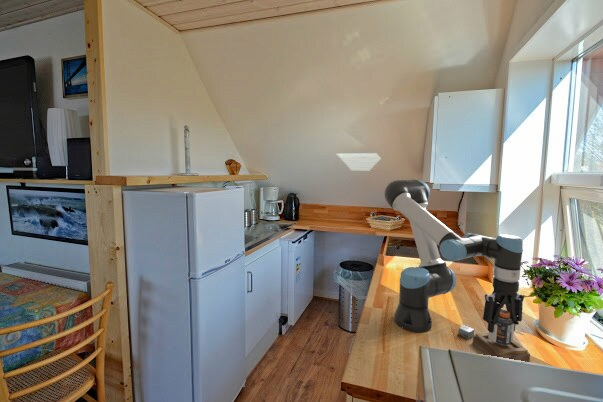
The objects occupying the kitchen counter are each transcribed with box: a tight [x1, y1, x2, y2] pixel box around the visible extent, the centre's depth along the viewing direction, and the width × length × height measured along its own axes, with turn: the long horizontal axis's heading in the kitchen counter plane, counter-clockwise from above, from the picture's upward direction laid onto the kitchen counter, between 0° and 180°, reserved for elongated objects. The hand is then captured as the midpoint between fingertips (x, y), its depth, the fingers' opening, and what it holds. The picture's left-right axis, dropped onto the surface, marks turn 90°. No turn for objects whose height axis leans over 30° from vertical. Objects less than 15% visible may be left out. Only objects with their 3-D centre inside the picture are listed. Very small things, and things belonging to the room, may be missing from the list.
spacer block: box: [458, 324, 475, 340], centre depth 112 cm, size 4×4×3 cm
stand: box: [472, 332, 531, 363], centre depth 102 cm, size 12×12×4 cm
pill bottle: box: [496, 308, 513, 345], centre depth 101 cm, size 6×6×11 cm
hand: (500, 339), depth 102 cm, fingers closed on pill bottle, 6 cm apart
